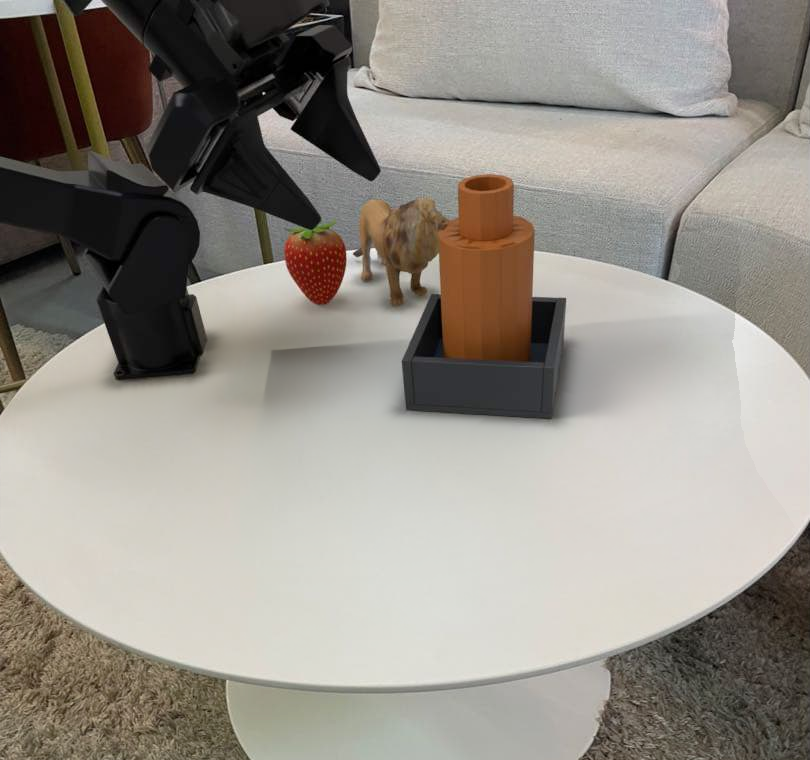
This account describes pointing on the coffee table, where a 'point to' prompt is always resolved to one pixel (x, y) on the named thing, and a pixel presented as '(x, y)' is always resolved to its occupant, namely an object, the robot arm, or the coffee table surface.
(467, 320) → the bottle
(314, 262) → the fruit
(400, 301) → the lion figurine
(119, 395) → the coffee table surface
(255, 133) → the robot arm
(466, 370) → the box
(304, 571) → the coffee table surface
